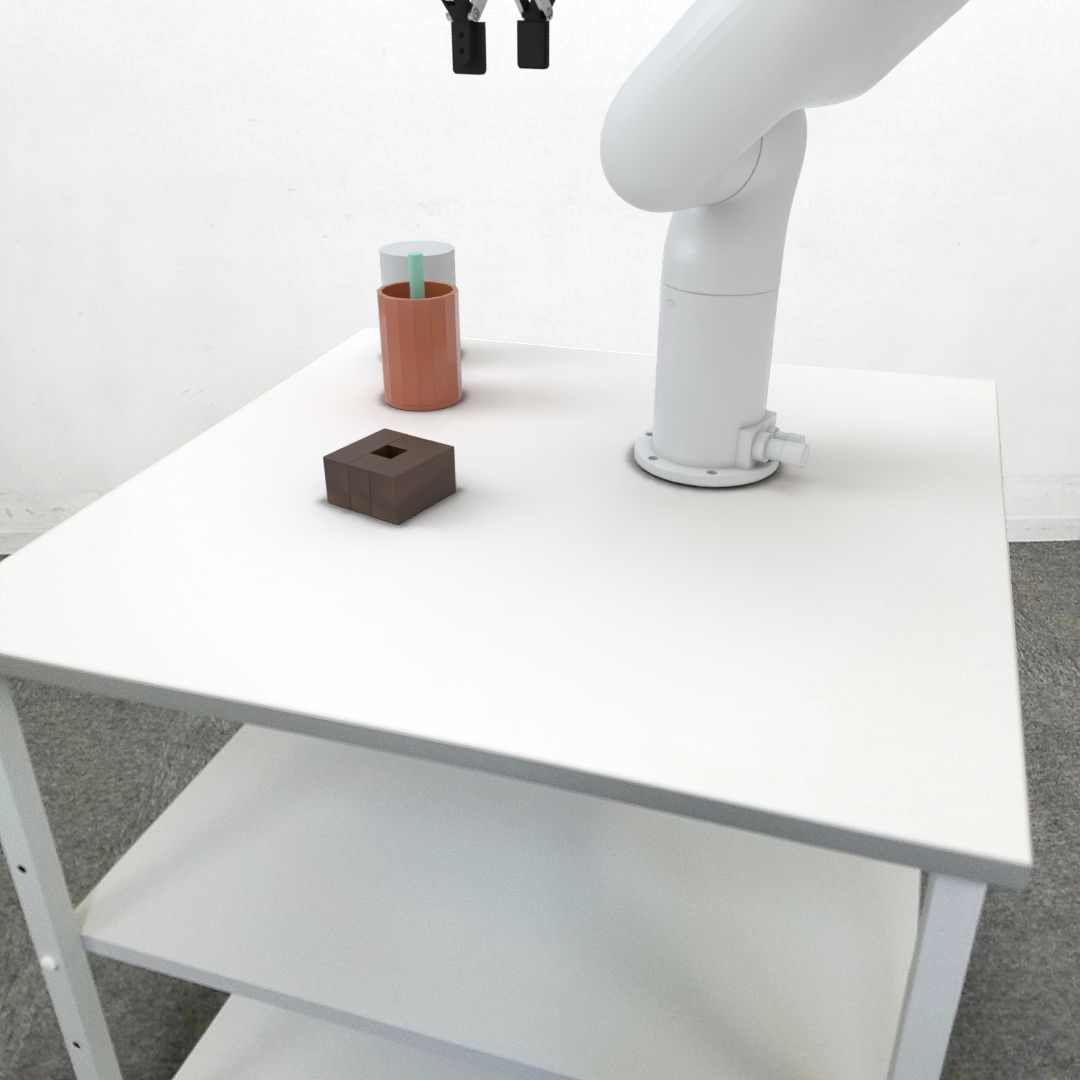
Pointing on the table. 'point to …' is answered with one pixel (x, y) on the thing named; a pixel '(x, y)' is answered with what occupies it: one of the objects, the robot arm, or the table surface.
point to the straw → (416, 275)
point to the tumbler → (420, 346)
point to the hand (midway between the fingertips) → (502, 71)
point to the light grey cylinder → (434, 261)
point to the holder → (390, 475)
